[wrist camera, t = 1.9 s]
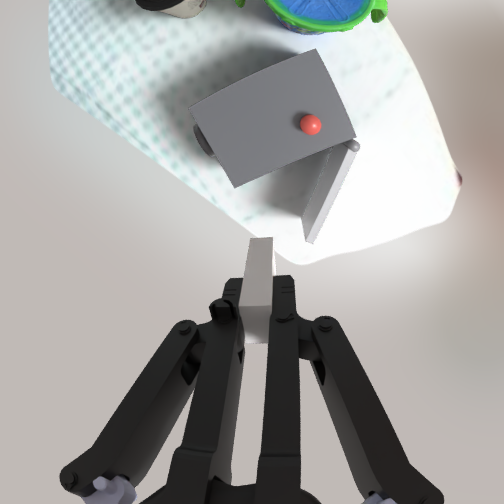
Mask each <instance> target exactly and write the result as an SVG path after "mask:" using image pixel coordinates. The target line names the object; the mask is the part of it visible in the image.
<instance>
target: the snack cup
mask: <svg viewBox="0 0 504 504" xmlns="http://www.w3.org/2000/svg"><path fill="white" fill-rule="evenodd" d="M264 1H265V2H266V4H267V5H268V6H269V7H270V8H271V10H272V11H273V12H274V13H275V15H276V17H277V18H278V20H279V21H280V22H281V23H282V24H283V25H284V26H285V27H287V28H288V29H289V30H291V31H293V32H297V33H300V34H304V35H319V34H323V33H326V32H336V31H341V32H344V31H347V30H351V29H353V27H354V26H356V25H357V24H359V23H360V22H362V21H363V20H364V19H365V18H366V17H367V16H368V15H369V13H370V12H371V19H372V21H373V22H374V23H379V22H380V21H382V20H383V19H384V18H385V17H386V16H387V13H388V9H387V0H264ZM235 2H236V4H237V6H238V7H240V8H241V7H243V6H244V4H245V0H235Z"/></svg>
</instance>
